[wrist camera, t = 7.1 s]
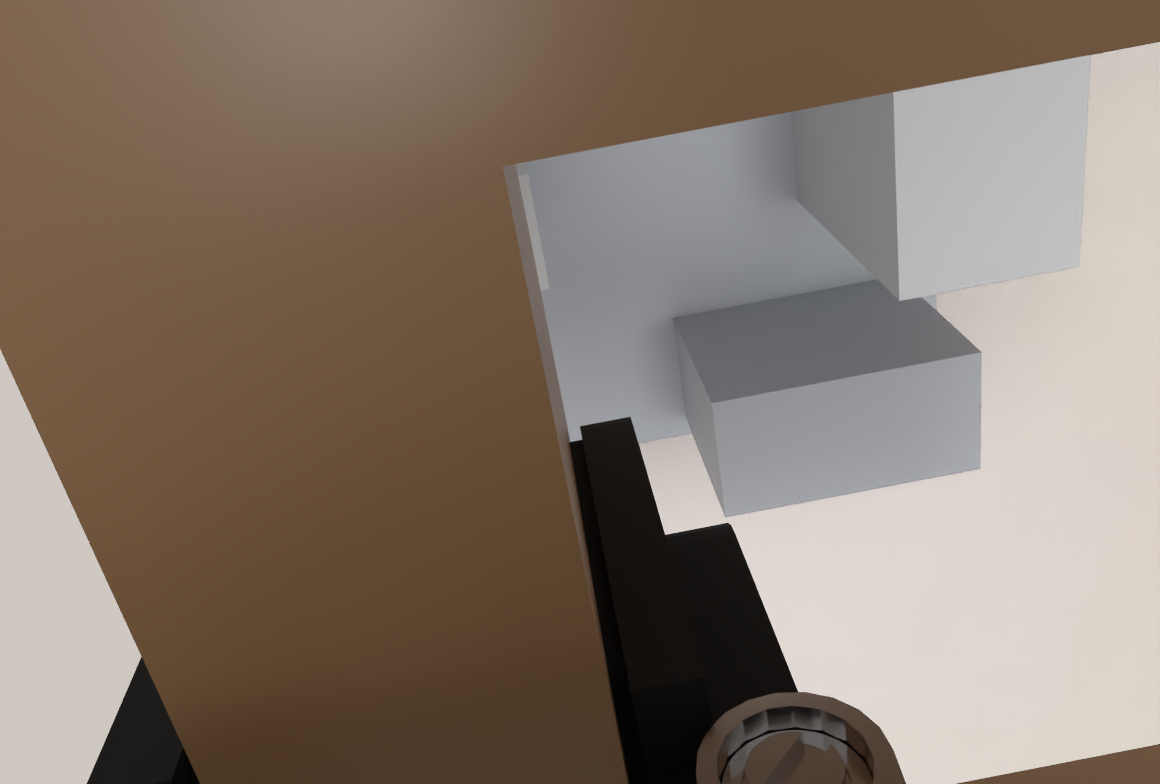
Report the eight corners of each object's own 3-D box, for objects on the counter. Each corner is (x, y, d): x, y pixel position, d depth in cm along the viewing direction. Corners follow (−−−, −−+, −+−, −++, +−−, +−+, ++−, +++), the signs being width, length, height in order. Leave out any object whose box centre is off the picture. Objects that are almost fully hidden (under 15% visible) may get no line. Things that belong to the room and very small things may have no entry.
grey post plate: (274, -169, 23) (180, -193, 15) (910, -286, 23) (1113, -365, 15) (439, 463, 30) (428, 648, 22) (923, 371, 30) (1065, 526, 23)
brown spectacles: (110, -132, 8) (-300, -147, 4) (1646, -420, 9) (2936, -753, 4) (474, 966, 15) (474, 1441, 10) (1359, 793, 15) (1744, 1188, 10)
